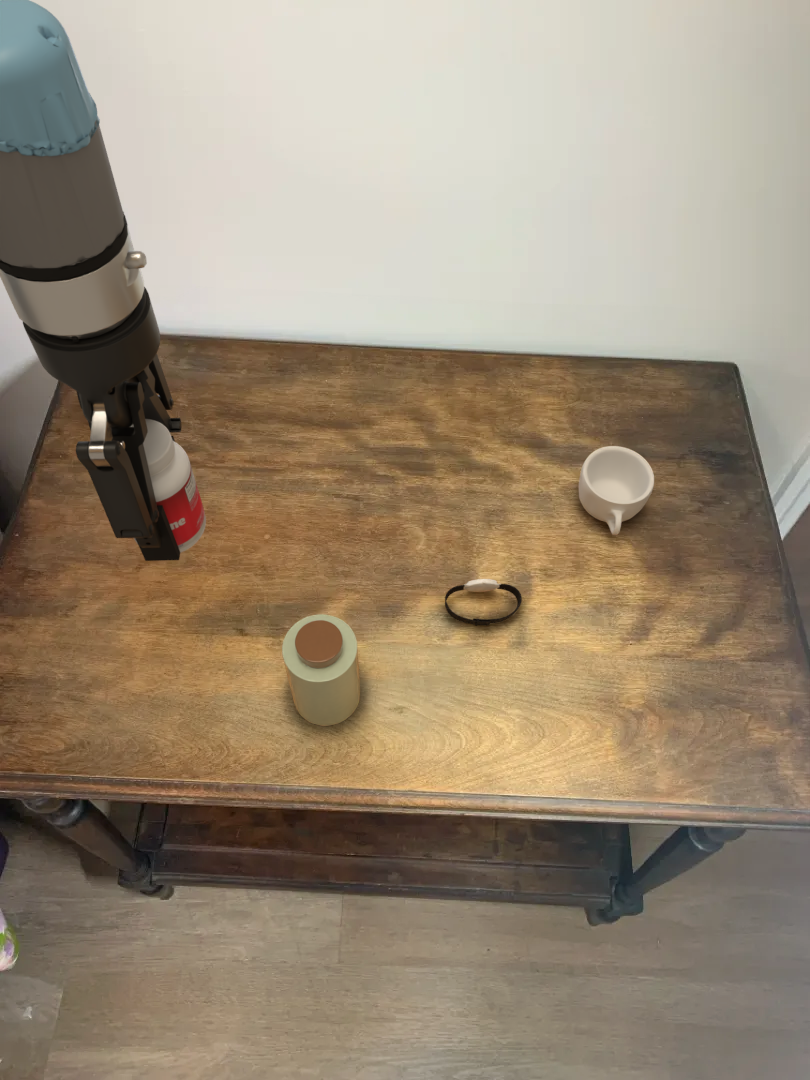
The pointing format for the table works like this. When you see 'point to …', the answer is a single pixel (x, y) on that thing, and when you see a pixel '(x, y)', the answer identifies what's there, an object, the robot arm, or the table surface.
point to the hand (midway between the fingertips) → (167, 521)
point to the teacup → (615, 485)
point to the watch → (483, 586)
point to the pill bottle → (174, 485)
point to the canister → (322, 669)
